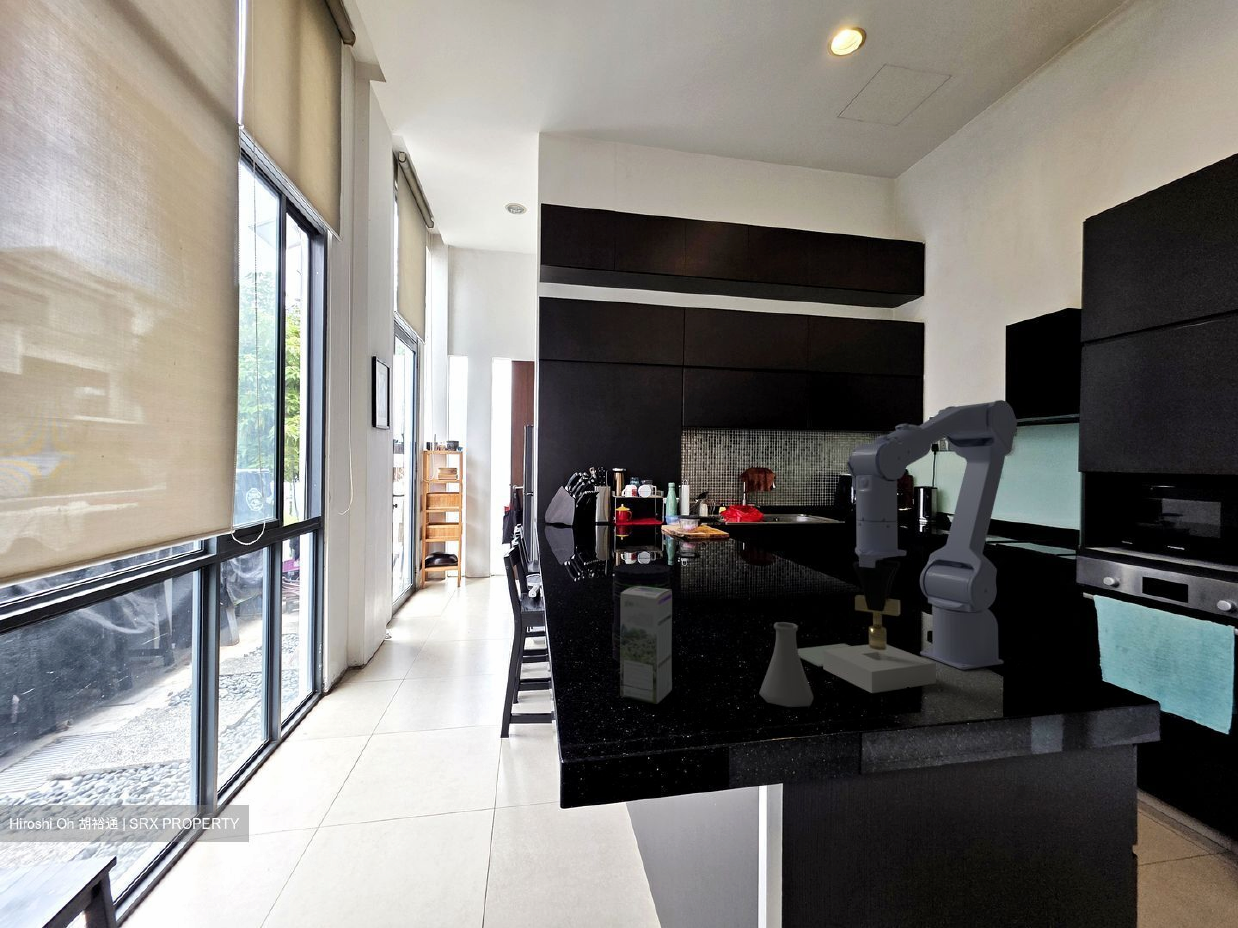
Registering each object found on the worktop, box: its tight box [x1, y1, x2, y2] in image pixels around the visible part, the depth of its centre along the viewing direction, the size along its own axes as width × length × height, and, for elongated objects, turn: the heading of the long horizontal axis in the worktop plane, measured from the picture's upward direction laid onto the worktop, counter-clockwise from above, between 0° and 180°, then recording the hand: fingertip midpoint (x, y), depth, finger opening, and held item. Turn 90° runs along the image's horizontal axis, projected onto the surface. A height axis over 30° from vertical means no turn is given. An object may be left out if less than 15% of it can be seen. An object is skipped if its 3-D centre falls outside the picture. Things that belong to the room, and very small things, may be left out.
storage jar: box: [611, 562, 671, 663], centre depth 90 cm, size 10×10×15 cm
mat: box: [797, 643, 852, 667], centre depth 90 cm, size 12×8×1 cm, turn 109°
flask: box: [758, 621, 814, 708], centre depth 73 cm, size 7×7×10 cm
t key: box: [854, 594, 901, 650], centre depth 81 cm, size 6×2×8 cm, turn 53°
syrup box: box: [619, 586, 673, 705], centre depth 74 cm, size 6×6×14 cm
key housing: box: [822, 643, 937, 694], centre depth 81 cm, size 12×10×3 cm
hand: (877, 608), depth 81 cm, fingers closed on t key, 2 cm apart
